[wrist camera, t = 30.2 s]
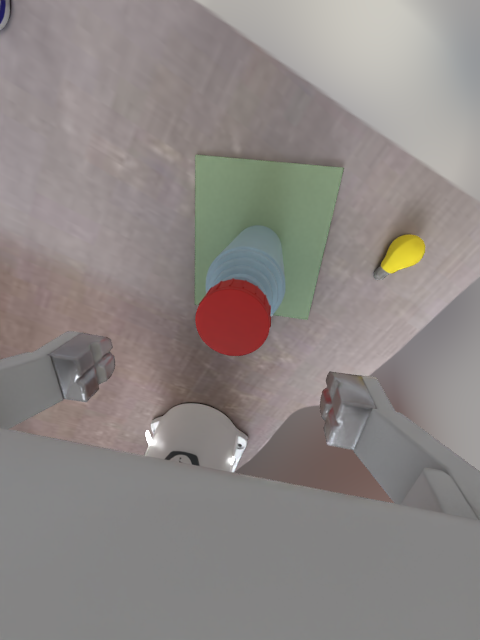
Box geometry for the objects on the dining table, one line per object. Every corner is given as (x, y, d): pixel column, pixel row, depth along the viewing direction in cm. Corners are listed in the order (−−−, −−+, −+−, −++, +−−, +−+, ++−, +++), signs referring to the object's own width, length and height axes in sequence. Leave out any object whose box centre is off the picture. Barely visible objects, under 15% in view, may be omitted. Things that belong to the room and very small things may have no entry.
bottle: (277, 277, 32) (279, 370, 15) (231, 271, 33) (182, 356, 15) (285, 228, 29) (298, 273, 12) (235, 222, 30) (179, 259, 13)
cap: (203, 273, 14) (194, 283, 12) (276, 283, 14) (276, 294, 12) (201, 335, 16) (193, 350, 14) (265, 345, 16) (264, 361, 14)
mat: (307, 318, 35) (307, 320, 34) (195, 303, 36) (194, 304, 35) (342, 168, 26) (344, 167, 26) (196, 155, 28) (195, 154, 27)
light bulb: (422, 235, 28) (439, 253, 26) (379, 273, 32) (391, 292, 30) (401, 223, 27) (417, 241, 25) (360, 264, 31) (370, 283, 29)
